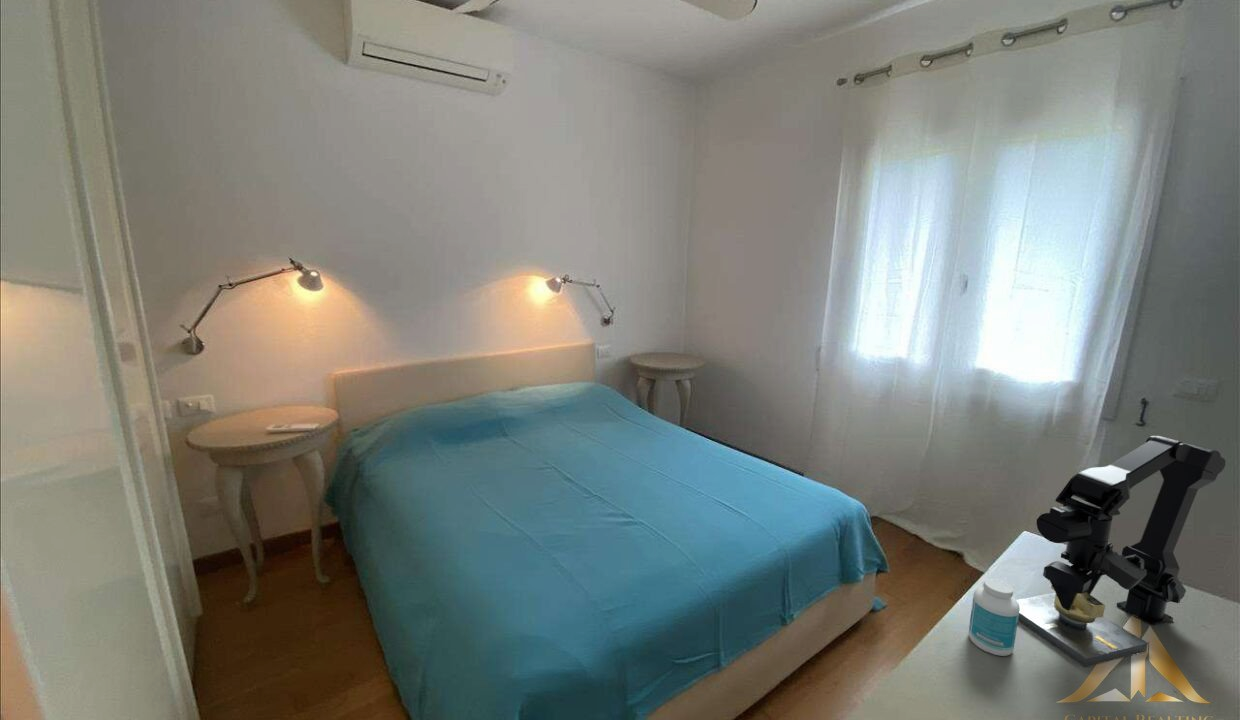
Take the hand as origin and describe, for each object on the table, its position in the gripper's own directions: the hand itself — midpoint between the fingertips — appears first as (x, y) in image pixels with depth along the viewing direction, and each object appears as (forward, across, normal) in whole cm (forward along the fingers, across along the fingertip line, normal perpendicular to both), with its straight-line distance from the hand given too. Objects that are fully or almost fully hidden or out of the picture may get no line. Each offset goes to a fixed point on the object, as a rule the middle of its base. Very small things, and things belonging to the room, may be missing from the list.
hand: (1076, 601), depth 100 cm
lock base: (+7, 0, 0) cm, 7 cm away
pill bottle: (+7, -19, +6) cm, 21 cm away
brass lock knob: (+2, 0, 0) cm, 2 cm away
